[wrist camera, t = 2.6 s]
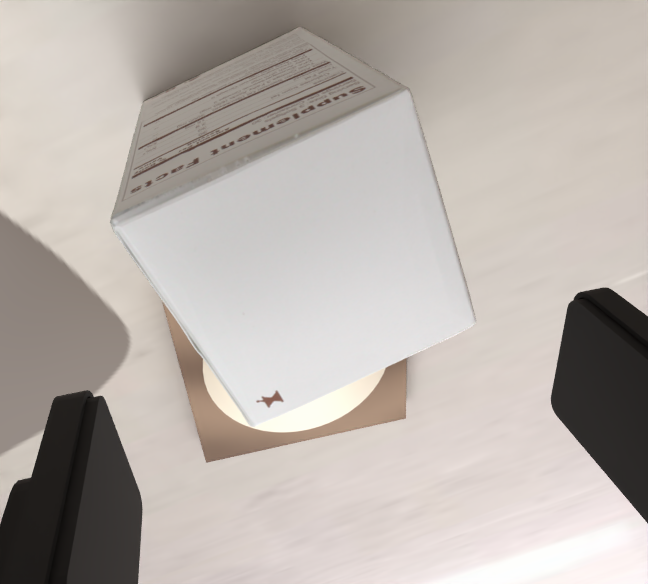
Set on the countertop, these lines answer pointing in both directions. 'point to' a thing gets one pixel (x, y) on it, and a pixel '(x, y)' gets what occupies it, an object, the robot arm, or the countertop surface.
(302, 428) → the board
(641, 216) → the countertop surface
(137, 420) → the countertop surface
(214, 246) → the supplement box
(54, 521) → the robot arm
